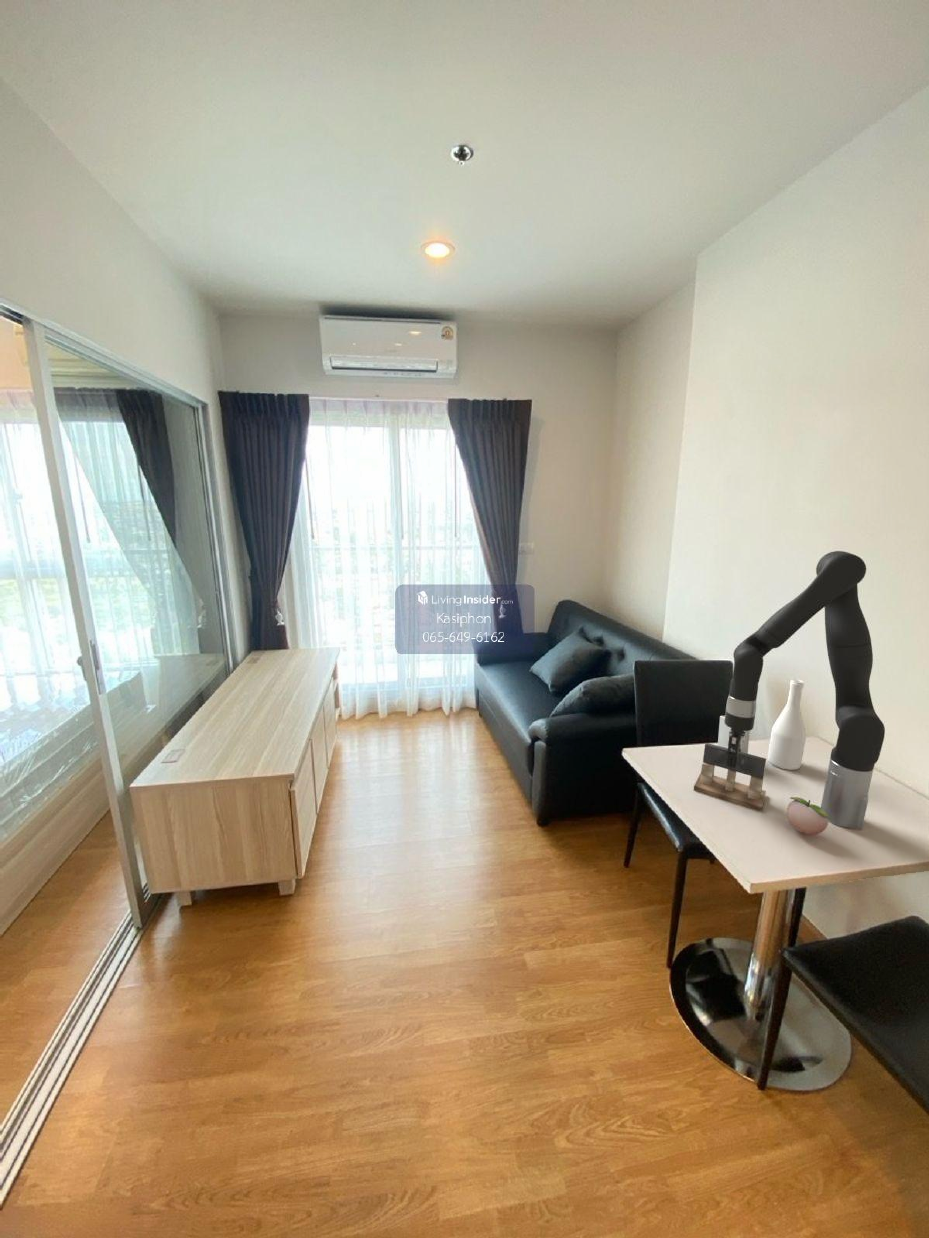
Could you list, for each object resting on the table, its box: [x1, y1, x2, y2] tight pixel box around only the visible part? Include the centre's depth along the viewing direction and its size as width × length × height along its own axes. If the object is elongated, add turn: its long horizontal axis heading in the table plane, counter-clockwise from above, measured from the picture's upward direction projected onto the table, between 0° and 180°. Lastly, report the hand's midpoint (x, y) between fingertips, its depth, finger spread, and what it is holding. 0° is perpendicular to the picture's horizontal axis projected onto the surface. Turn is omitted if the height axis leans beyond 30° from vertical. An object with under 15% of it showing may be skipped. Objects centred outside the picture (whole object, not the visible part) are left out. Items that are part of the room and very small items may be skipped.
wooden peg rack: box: [693, 761, 767, 813], centre depth 144 cm, size 18×10×8 cm, turn 53°
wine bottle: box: [767, 678, 807, 771], centre depth 157 cm, size 10×10×30 cm
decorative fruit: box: [785, 796, 829, 836], centre depth 125 cm, size 9×8×10 cm
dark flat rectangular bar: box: [702, 742, 767, 780], centre depth 142 cm, size 16×2×6 cm, turn 53°
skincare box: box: [717, 715, 751, 754], centre depth 163 cm, size 8×6×15 cm
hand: (733, 760), depth 142 cm, fingers open, 8 cm apart
